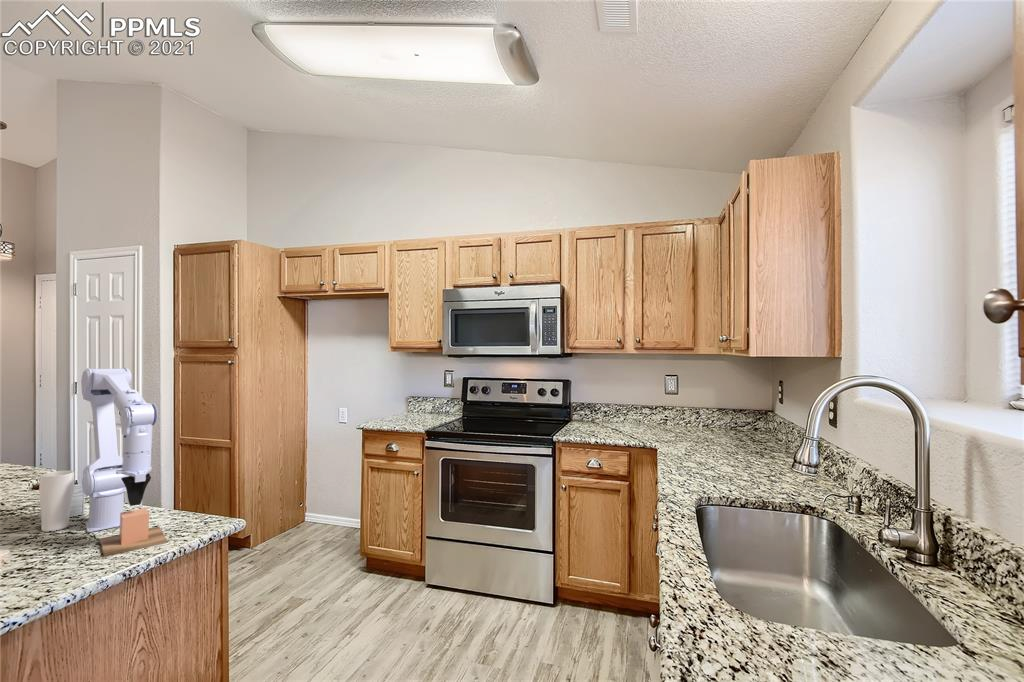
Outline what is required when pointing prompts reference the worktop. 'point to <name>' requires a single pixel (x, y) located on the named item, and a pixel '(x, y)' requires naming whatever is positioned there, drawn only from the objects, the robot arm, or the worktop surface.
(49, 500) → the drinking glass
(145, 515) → the salmon orange block
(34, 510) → the worktop surface
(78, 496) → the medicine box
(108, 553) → the post board
